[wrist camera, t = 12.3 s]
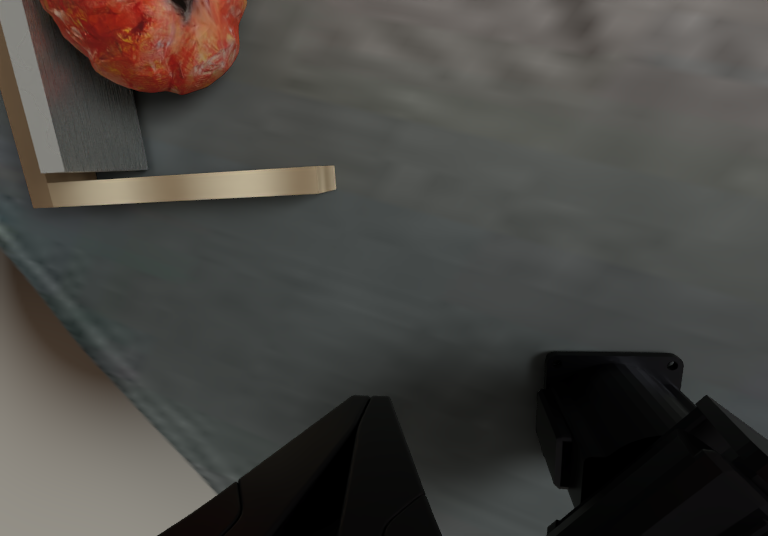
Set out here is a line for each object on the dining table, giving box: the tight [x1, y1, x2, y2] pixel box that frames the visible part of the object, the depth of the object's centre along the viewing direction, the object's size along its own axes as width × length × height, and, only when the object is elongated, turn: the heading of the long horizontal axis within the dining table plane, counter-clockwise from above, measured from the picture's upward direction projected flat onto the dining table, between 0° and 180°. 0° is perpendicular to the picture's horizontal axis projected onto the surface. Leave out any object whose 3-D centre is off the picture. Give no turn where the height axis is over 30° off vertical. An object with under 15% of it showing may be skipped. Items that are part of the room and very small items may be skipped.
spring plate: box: [0, 0, 148, 173], centre depth 18 cm, size 1×10×5 cm, turn 3°
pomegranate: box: [40, 0, 247, 95], centre depth 17 cm, size 7×7×10 cm
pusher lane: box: [0, 21, 336, 208], centre depth 19 cm, size 15×13×3 cm
